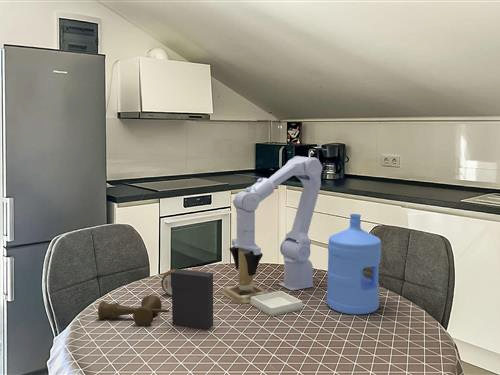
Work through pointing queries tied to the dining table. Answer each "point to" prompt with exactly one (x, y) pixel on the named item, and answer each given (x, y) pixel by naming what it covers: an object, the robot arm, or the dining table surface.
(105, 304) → the kendama
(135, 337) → the dining table surface
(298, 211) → the robot arm
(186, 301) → the black upright block
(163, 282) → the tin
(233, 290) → the wooden square frame
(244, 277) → the skincare box
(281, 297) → the tray
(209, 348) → the dining table surface
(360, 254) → the water jug
